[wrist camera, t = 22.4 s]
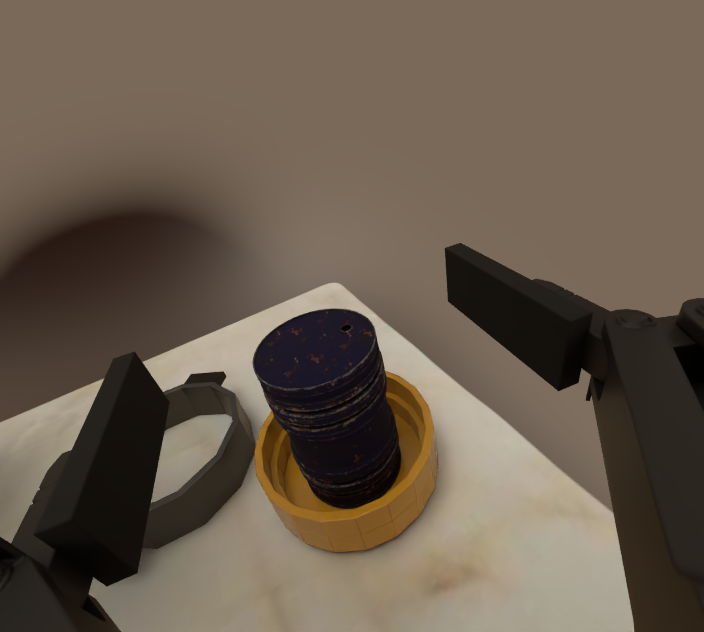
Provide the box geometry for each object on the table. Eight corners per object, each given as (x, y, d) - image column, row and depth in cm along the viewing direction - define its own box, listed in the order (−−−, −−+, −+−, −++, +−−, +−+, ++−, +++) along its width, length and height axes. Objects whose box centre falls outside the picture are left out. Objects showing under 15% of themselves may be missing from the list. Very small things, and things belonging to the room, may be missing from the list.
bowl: (376, 603, 25) (362, 570, 22) (241, 492, 35) (219, 459, 32) (464, 435, 35) (463, 397, 32) (340, 384, 45) (330, 352, 42)
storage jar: (328, 533, 29) (270, 415, 21) (291, 450, 37) (238, 341, 29) (423, 470, 32) (404, 345, 24) (370, 406, 40) (342, 295, 32)
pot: (203, 581, 29) (175, 553, 26) (47, 571, 32) (8, 546, 30) (277, 394, 46) (264, 365, 43) (169, 400, 49) (151, 374, 47)
